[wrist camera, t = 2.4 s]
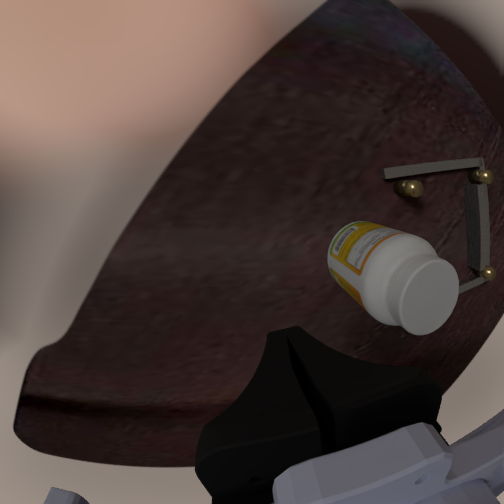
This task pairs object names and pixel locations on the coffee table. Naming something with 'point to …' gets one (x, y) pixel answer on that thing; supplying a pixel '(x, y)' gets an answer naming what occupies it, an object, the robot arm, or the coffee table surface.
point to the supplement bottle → (394, 276)
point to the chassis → (473, 204)
